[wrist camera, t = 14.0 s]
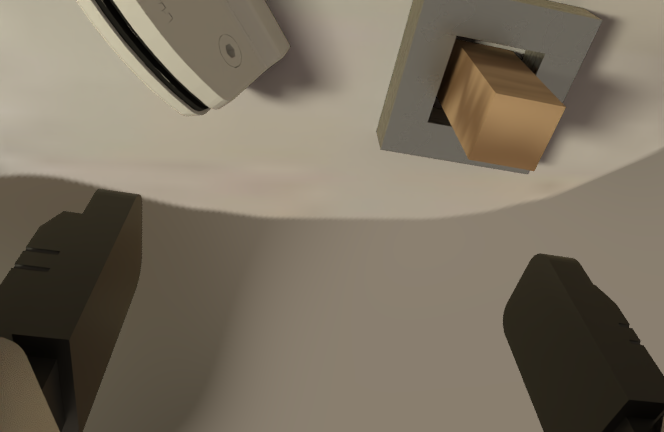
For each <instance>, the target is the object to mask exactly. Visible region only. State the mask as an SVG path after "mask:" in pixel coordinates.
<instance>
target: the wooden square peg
mask: <svg viewBox="0 0 664 432" xmlns="http://www.w3.org/2000/svg"><path fill="white" fill-rule="evenodd" d="M436 96H437V98H438V100H439V102H440V104H441V106H442V108H443V110H444V112H445V114H446V116H447V118H448V120H449V122H450V124H451V126H452V128H453V130H454V132H455V134H456V136H457V138H458V140H459V142H460V144H461V146H462V148H463V150H464V152H465V154H466V156H467V157H468V159H469V160H474V161H479V162H485V163H491V164H496V165H502V166H508V167H513V168H519V169H525V170H530V171H535V169H536V167H537V164H538V162H539V160H540V158H541V156H542V154H543V152H544V150H545V148H546V146H547V144H548V142H549V140H550V138H551V136H552V134H553V132H554V130H555V128H556V126H557V124H558V122H559V120H560V118H561V116H562V114H563V112H564V110H565V108H566V107H565V106H564V105H563V103H562V102H561V101H560V100H559V99H558V98H557V97H556V96H555V95H554V94H553V93H552V92H551V91H550V90H549V89H548V88H547V87H546V86H545V85H544V84H543V83H542V81H541V80H540V79H539V78H538V77H537V76H536V75H535V74H534V73H533V72H532V71H531V70H530V69H529V68H528V67H527V66H526V65H525V64H524V63H523V62H522V61H521V60H520V58H519V57H518V56H517V55H516V54H515V53H514V52H513V51H510V50H506V49H501V48H496V47H492V46H487V45H482V44H477V43H473V42H468V41H463V40H459V39H456V40H455V43H454V46H453V49H452V52H451V54H450V57H449V60H448V63H447V66H446V69H445V72H444V75H443V78H442V81H441V84H440V87H439V90H438V93H437V95H436Z"/></svg>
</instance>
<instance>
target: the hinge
mask: <svg viewBox="0 0 664 432" xmlns="http://www.w3.org/2000/svg"><path fill="white" fill-rule="evenodd" d="M76 1H77V3H78V4H79V6H80V7H81V8H82V10H83V11H84V13H85V14H86V16H87V17H88V18H89V20H90V21H91V22H92V24H93V25H94V27H95V28H96V29H97V31H98V32H99V33H100V34H101V36H102V37H103V38H104V39H105V40H106V42H107V43H108V44H109V45H110V47H111V48H112V49H113V50H114V52H115V53H116V54H117V55H118V56H119V57H120V58H121V59H122V61H123V62H124V63H125V64H126V65H127V66H128V67H129V68H130V69H131V70H132V71H133V72H134V74H135V75H136V76H137V77H138V78H139V79H140V80H141V81H142V82H143V83H144V84H146V85H147V86H148V87H149V88H150V89H151V90H152V91H153V92H154V93H155V94H156V95H157V96H159V97H160V98H161V99H162V100H163V101H164V102H166V103H167V104H168V105H169V106H171V107H172V108H173V109H175V110H176V111H177V112H178V113H180V114H181V115H184V116H196V115H204V114H205V113H207V112H208V111H209V110H210V109H211V108H212V109H220V108H222V107H223V106H225V105H226V104H228V103H229V102H231V101H232V100H233V99H235V98H236V97H237V96H238V95H239V94H240V93H241V92H242V91H243V90H245V89H246V88H247V87H248V86H249V85H250V84H251V83H252V82H253V81H255V80H256V79H257V78H258V77H259V76H260V75H261V74H262V73H264V72H265V71H266V70H267V69H268V68H270V67H271V66H272V65H274V64H275V63H276V62H278V61H279V60H280V59H282V58H283V57H284V56H285V54H286V53H287V51H288V50H289V48H290V47H291V46H290V45H289V43H288V41H287V39H286V38H285V36H284V34H283V32H282V30H281V29H280V27H279V25H278V23H277V21H276V20H275V18H274V16H273V14H272V13H271V11H270V9H269V7H268V5H267V4H266V2H265V0H76Z"/></svg>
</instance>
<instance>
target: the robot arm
mask: <svg viewBox="0 0 664 432" xmlns="http://www.w3.org/2000/svg"><path fill="white" fill-rule="evenodd" d="M141 263H142V198H141V195H139V194H132V193H125V192H118V191H111V190H104V189H98V190H97V191H96V192H95V193H94V195H93V197H92V199H91V200H90V202H89V204H88V206H87V207H86V209H85V210H84V212H83V214H80V213H73V212H66V211H63V212H62V213H60V214H59V215H57V216H56V217H54V218H52V219H51V220H49V221H48V222H46V223H45V224H43V225H42V226H40V227H39V229H38V230H37V232H36V233H35V235H34V236H33V238H32V239H31V240H30V242H29V244H28V245H27V246H26V251H23V252H22V254H21V255H20V257H19V258H18V260H17V261H16V263H15V267H14V268H11V270H10V271H9V273H8V274H7V276H6V277H5V279H4V280H3V282H2V284H1V285H0V432H83V430H84V427H85V424H86V422H87V419H88V416H89V414H90V411H91V408H92V406H93V403H94V400H95V398H96V395H97V392H98V390H99V387H100V384H101V381H102V379H103V376H104V373H105V371H106V368H107V365H108V363H109V360H110V357H111V355H112V352H113V349H114V347H115V344H116V341H117V339H118V336H119V333H120V331H121V328H122V325H123V323H124V320H125V317H126V315H127V312H128V309H129V307H130V304H131V301H132V299H133V296H134V293H135V290H136V288H137V284H138V280H139V276H140V269H141ZM503 328H504V333H505V336H506V338H507V340H508V343H509V346H510V348H511V351H512V353H513V356H514V358H515V361H516V363H517V366H518V368H519V371H520V373H521V376H522V378H523V381H524V383H525V386H526V388H527V391H528V393H529V396H530V398H531V401H532V403H533V406H534V408H535V410H536V413H537V416H538V418H539V421H540V423H541V426H542V428H543V431H544V432H664V376H663V374H662V373H661V371H660V370H659V368H658V367H657V365H656V364H655V362H654V361H653V359H652V357H651V356H650V355H649V353H648V352H647V350H646V348H645V347H644V346H643V345H640V339H639V338H638V336H637V335H636V333H635V332H634V330H633V329H632V328H629V323H628V321H627V320H626V318H625V317H624V315H623V314H622V312H621V311H620V309H619V308H618V306H617V305H616V304H615V303H614V302H613V301H612V300H611V299H610V298H609V297H608V296H607V295H606V294H605V293H603V292H602V291H601V290H600V289H599V288H598V287H597V286H595V285H593V283H592V282H591V280H590V279H589V277H588V276H587V274H586V272H585V271H584V269H583V268H582V266H581V265H580V263H579V262H578V261H577V260H576V259H573V258H568V257H560V256H554V255H547V254H537V255H535V256H534V257H533V258H532V259H531V260H530V262H529V264H528V266H527V268H526V269H525V271H524V273H523V275H522V277H521V279H520V280H519V282H518V284H517V286H516V288H515V290H514V292H513V294H512V295H511V297H510V299H509V301H508V302H507V305H506V307H505V310H504V315H503Z"/></svg>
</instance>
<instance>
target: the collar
mask: <svg viewBox="0 0 664 432" xmlns="http://www.w3.org/2000/svg"><path fill="white" fill-rule="evenodd" d="M601 22H602V20H601V19H600V18H598V17H596V16H595V15H593V14H591V13H590V12H588V11H587V10H585V9H583V8H579V7H575V6H570V5H566V4H561V3H557V2H552V1H548V0H413V3H412V6H411V10H410V14H409V17H408V21H407V24H406V28H405V31H404V35H403V39H402V42H401V46H400V49H399V53H398V56H397V60H396V63H395V67H394V71H393V74H392V78H391V81H390V85H389V88H388V92H387V96H386V99H385V103H384V106H383V110H382V113H381V117H380V121H379V124H378V128H377V131H376V132H377V136H378V141H379V145H380V149H381V150H386V151H392V152H398V153H404V154H410V155H416V156H422V157H428V158H434V159H439V160H445V161H451V162H457V163H463V164H469V165H475V166H481V167H487V168H493V169H499V170H505V171H511V172H517V173H523V174H529V171H530V170H525V169H519V168H513V167H508V166H502V165H496V164H491V163H485V162H479V161H474V160H469V159H468V157H467V156H466V154H465V152H464V150H463V148H462V146H461V144H460V142H459V140H458V138H457V136H456V134H455V132H454V130H453V128H452V126H451V124H450V122H449V120H448V118H447V116H446V114H445V112H444V110H442V109H437V108H432V107H433V104H434V101H435V98H436V95H437V93H438V90H439V87H440V84H441V81H442V78H443V75H444V72H445V69H446V66H447V63H448V60H449V57H450V54H451V51H452V48H453V45H454V42H455V39H456V36H462V37H467V38H472V39H476V40H481V41H486V42H491V43H496V44H501V45H506V46H511V47H515V48H520V49H525V50H526V52H525V54H524V56H523V59H522V62H523V63H524V64H525V65H526V66H527V67H528V68H529V69H530V70H531V71H532V72H533V73H534V74H535V75H536V76H537V77H538V78H539V79H540V80H541V81H542V83H543V84H544V85H545V86H546V87H547V88H548V89H549V90H550V91H551V92H552V93H553V94H554V95H555V96H556V97H557V98H558V99H559V100H560V101H561V102H562V103H563V101H564V99H565V97H566V95H567V93H568V91H569V89H570V87H571V85H572V82H573V80H574V78H575V76H576V74H577V72H578V70H579V68H580V66H581V64H582V62H583V60H584V58H585V56H586V53H587V51H588V49H589V47H590V45H591V43H592V41H593V39H594V37H595V35H596V33H597V31H598V29H599V27H600V24H601Z"/></svg>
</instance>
